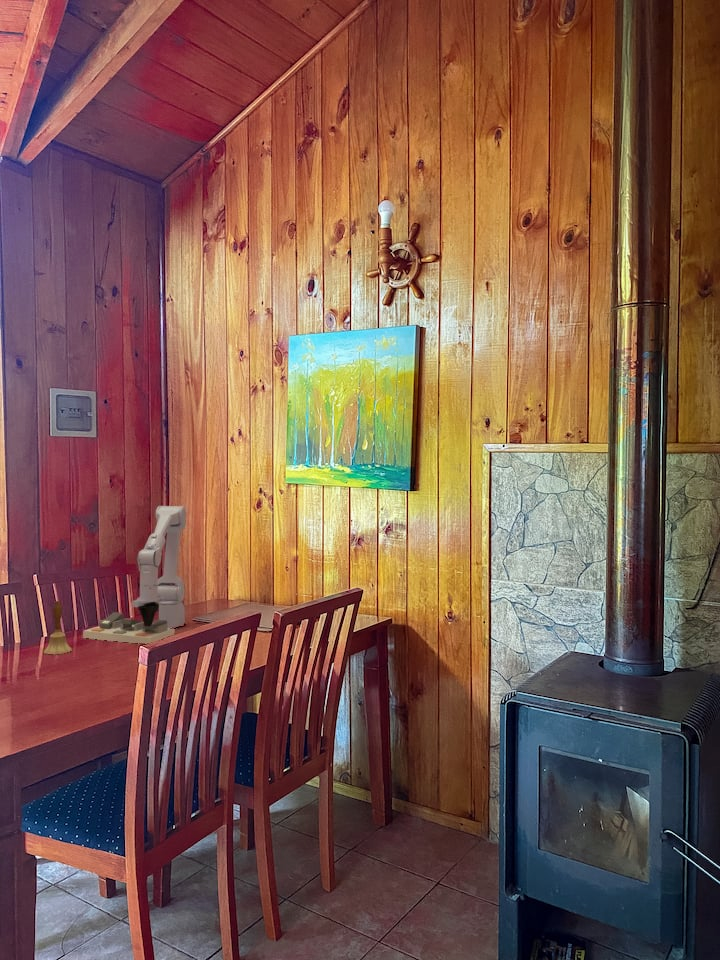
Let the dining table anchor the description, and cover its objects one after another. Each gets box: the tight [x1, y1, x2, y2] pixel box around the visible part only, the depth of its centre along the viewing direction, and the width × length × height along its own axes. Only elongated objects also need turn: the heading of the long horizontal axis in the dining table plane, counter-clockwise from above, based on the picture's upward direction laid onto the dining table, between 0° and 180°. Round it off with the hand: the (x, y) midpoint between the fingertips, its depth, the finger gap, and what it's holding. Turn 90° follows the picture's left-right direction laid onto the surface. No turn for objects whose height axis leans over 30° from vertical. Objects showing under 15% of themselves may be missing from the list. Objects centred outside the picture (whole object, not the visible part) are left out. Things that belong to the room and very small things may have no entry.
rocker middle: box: [121, 617, 143, 625], centre depth 250 cm, size 8×4×2 cm, turn 160°
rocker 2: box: [143, 619, 167, 630], centre depth 247 cm, size 8×4×2 cm, turn 160°
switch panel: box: [82, 619, 176, 645], centre depth 248 cm, size 14×27×5 cm, turn 70°
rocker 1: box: [98, 611, 125, 629], centre depth 253 cm, size 8×4×2 cm, turn 160°
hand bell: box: [43, 600, 73, 656], centre depth 228 cm, size 8×8×16 cm
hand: (148, 625), depth 243 cm, fingers closed, pressing on rocker 2
